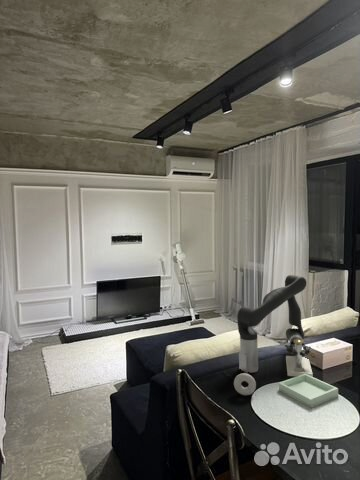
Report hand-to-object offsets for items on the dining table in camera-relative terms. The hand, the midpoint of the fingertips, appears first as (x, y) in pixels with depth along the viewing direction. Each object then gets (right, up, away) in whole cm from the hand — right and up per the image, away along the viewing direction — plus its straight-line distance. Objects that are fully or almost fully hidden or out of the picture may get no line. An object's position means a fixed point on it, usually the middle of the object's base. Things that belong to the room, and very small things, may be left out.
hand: (299, 354), depth 166 cm
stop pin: (+1, -7, +3) cm, 8 cm away
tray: (-2, -12, -17) cm, 21 cm away
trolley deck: (+3, -11, +10) cm, 15 cm away
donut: (-31, -13, -17) cm, 37 cm away
